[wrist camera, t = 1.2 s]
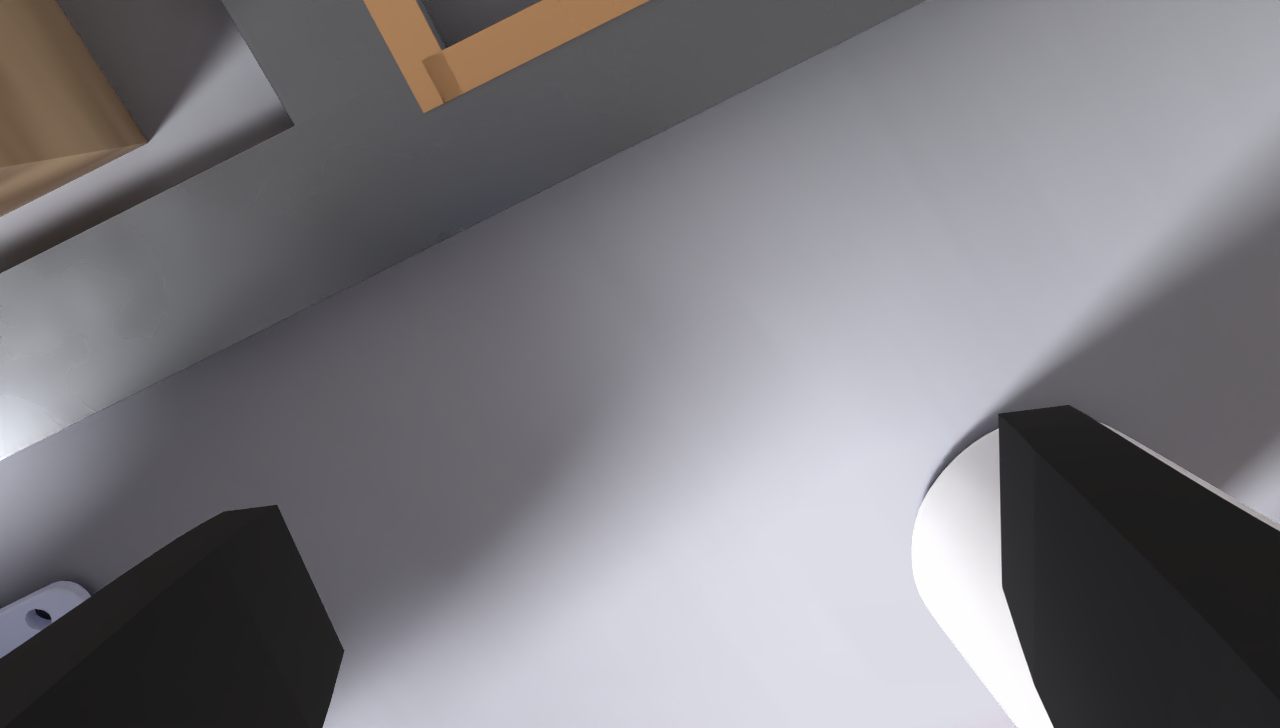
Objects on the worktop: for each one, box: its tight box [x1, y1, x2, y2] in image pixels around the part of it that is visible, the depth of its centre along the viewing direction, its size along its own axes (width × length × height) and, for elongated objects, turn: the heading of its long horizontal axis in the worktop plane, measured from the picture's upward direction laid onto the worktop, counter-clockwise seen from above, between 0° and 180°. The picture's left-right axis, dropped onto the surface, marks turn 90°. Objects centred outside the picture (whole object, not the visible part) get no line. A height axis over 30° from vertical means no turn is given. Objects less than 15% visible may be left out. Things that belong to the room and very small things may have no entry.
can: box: [912, 421, 1280, 728], centre depth 17 cm, size 6×6×12 cm
